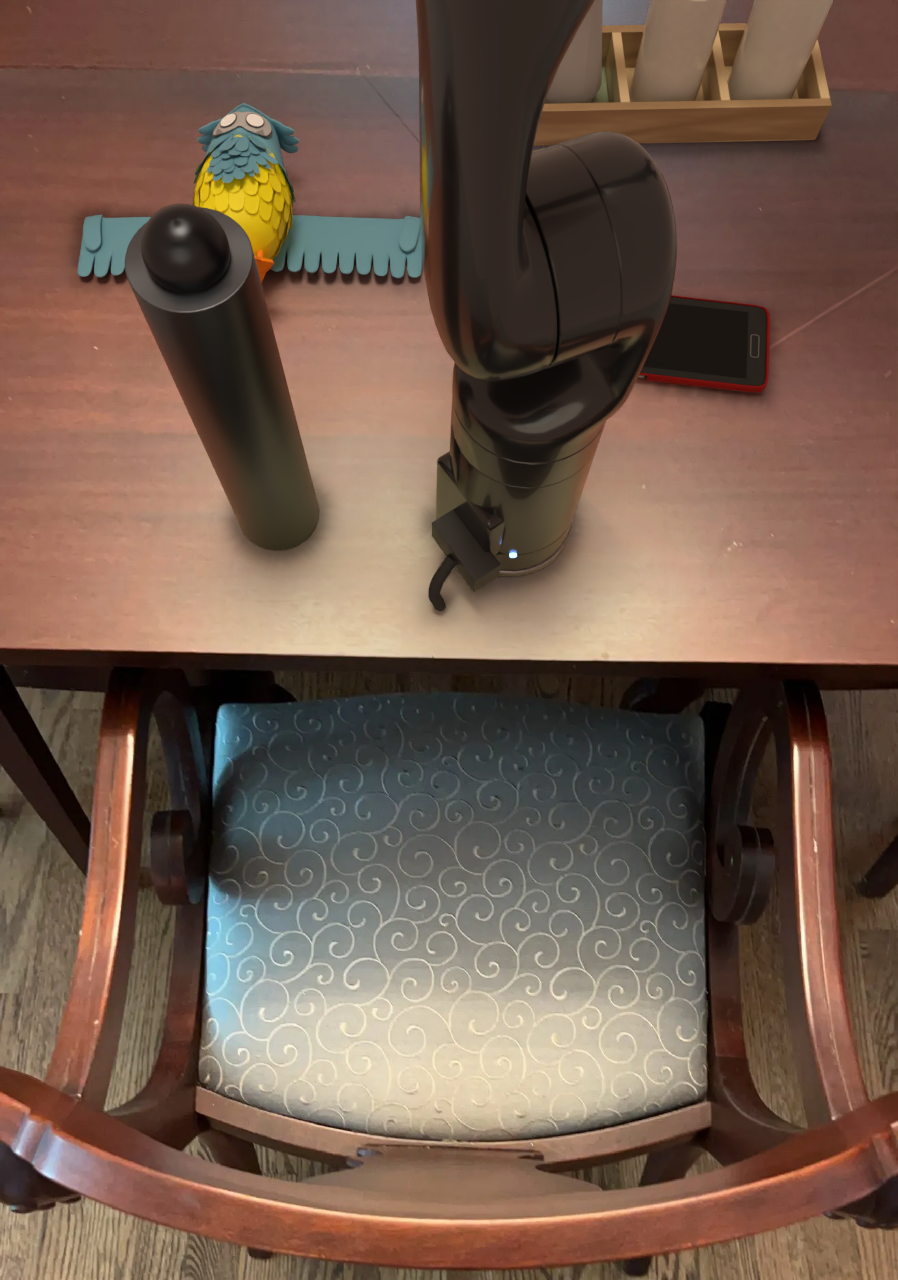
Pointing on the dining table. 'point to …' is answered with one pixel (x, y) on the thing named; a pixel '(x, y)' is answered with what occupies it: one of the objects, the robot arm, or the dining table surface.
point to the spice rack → (688, 119)
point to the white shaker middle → (675, 49)
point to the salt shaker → (581, 63)
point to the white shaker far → (776, 48)
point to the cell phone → (711, 345)
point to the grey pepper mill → (226, 365)
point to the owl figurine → (266, 210)
